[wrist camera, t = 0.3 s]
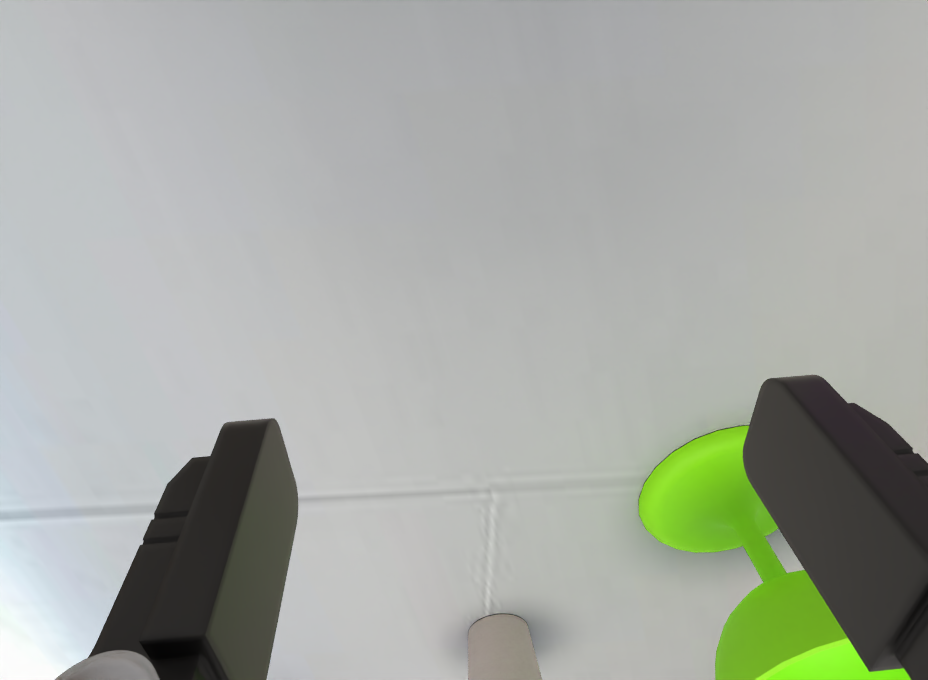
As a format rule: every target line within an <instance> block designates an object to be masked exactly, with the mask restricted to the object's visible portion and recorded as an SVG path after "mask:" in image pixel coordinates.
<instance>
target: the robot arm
mask: <svg viewBox="0 0 928 680" xmlns="http://www.w3.org/2000/svg"><path fill="white" fill-rule="evenodd" d="M912 449H913V448H912V447H911V446H910V445H909V444H908V443H907V442H906V441H905V440H904V439H903V438H902V437H901V436H900V435H899V434H898V433H897V432H896V431H895V430H894V429H893V428H892V427H891V426H890V425H889V424H888V423H886V422H885V421H883V420H881V419H880V418H878V417H877V416H875V415H873V414H872V413H870V412H868V411H867V410H865V409H863V408H862V407H860V406H858V405H857V404H855V403H847V402H846V401H845V400H844V399H843V398H842V397H841V396H840V395H839V394H838V393H837V392H836V391H835V390H834V389H833V387H832V386H831V385H830V384H829V383H828V382H827V381H826V380H825V379H823V378H822V377H820V376H818V375H805V376H793V377H781V378H770V379H767V380H766V381H765V382H764V383H763V384H762V386H761V389H760V392H759V395H758V398H757V402H756V405H755V408H754V412H753V415H752V418H751V422H750V425H749V428H748V432H747V435H746V439H745V442H744V446H743V463H744V468H745V472H746V475H747V477H748V480H749V482H750V483H751V485H752V487H753V488H754V490H755V492H756V493H757V495H758V496H759V498H760V499H761V501H762V503H763V504H764V506H765V507H766V509H767V511H768V512H769V514H770V515H771V517H772V518H773V520H774V522H775V523H776V525H777V526H778V528H779V530H780V531H781V533H782V534H783V536H784V537H785V539H786V541H787V542H788V544H789V545H790V547H791V549H792V550H793V552H794V553H795V555H796V557H797V558H798V560H799V561H800V563H801V564H802V566H803V568H804V569H805V571H806V572H807V574H808V576H809V577H810V579H811V580H812V582H813V583H814V585H815V587H816V588H817V590H818V591H819V593H820V595H821V596H822V598H823V599H824V601H825V602H826V604H827V606H828V607H829V609H830V610H831V612H832V614H833V615H834V617H835V618H836V620H837V622H838V623H839V625H840V626H841V628H842V629H843V631H844V633H845V634H846V636H847V637H848V639H849V641H850V642H851V644H852V645H853V647H854V648H855V650H856V652H857V653H858V655H859V656H860V658H861V660H862V661H863V663H864V664H865V666H866V667H867V669H868V671H869V672H874V671H883V670H893V669H903V668H904V669H905V671H906V672H907V674H908V675H909V677H910V678H911V680H928V463H927V462H926V461H925V460H924V459H923V458H922V457H921V456H920V455H919V454H918V453H917V454H914V453H913V451H912ZM154 515H155V518H154V520H151V522H150V524H149V526H148V529H147V531H146V533H145V535H144V538H143V540H144V542H143V545H140V547H139V549H138V551H137V553H136V556H135V558H134V560H133V562H132V564H131V567H130V569H129V571H128V573H127V576H126V578H125V580H124V582H123V585H122V587H121V589H120V591H119V593H118V596H117V598H116V600H115V602H114V605H113V607H112V609H111V611H110V614H109V616H108V618H107V620H106V623H105V625H104V627H103V629H102V631H101V634H100V636H99V638H98V640H97V643H96V645H95V646H94V648H93V650H92V652H91V654H90V655H89V657H88V658H87V659H85V660H83V661H81V662H79V663H77V664H76V665H74V666H72V667H71V668H69V669H68V670H66V671H65V672H64V673H62V674H61V675H60V676H58V677H57V678H56V679H55V680H266V678H267V673H268V668H269V663H270V658H271V653H272V648H273V643H274V637H275V632H276V627H277V622H278V617H279V612H280V607H281V601H282V596H283V591H284V586H285V581H286V576H287V571H288V565H289V560H290V555H291V550H292V545H293V540H294V535H295V530H296V524H297V518H298V493H297V486H296V482H295V478H294V475H293V472H292V468H291V465H290V461H289V458H288V454H287V451H286V447H285V444H284V441H283V437H282V434H281V430H280V427H279V425H278V422H277V421H276V420H275V419H273V418H271V419H259V420H247V421H235V422H227V423H225V424H224V425H223V427H222V428H221V431H220V433H219V436H218V438H217V441H216V443H215V446H214V449H213V451H212V454H211V456H208V457H196V458H192V459H191V460H190V461H189V462H188V463H187V464H186V465H185V466H184V467H183V468H182V469H181V470H180V471H179V472H178V473H177V475H176V476H175V477H174V478H173V479H172V480H171V481H170V482H169V483H168V484H167V486H166V489H165V491H164V493H163V495H162V497H161V500H160V502H159V504H158V506H157V509H156V511H155V513H154Z"/></svg>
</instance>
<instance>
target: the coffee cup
mask: <svg viewBox="0 0 928 680" xmlns="http://www.w3.org/2000/svg"><path fill="white" fill-rule="evenodd" d="M468 680H542V677H541V673H540V670H539V666H538V662H537V658H536V655H535V651H534V647H533V643H532V640H531V636H530V632H529V628H528V625H527V623H526V622H525V621H524V620H523V619H521V618H519V617H517V616H514V615H508V614H497V615H491V616H488V617H485V618H482V619H480V620H479V621H477V622H476V623H474V624H473V625H472V626H471V628H470V629H469V632H468Z"/></svg>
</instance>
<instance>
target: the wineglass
mask: <svg viewBox="0 0 928 680" xmlns="http://www.w3.org/2000/svg"><path fill="white" fill-rule="evenodd" d="M748 428H749V426H739V427H734V428H729V429H723V430H718V431H716V432H713V433H710V434H708V435H705V436H702V437H700V438H697V439H694V440H693V441H691V442H689V443H688V444H686V445H684V446H683V447H681V448H679V449H678V450H676V451H674V452H673V453H672V454H670V455H669V456H668V457H667V458H666V459H665V460H664V461H663V462H661V463H660V464H659V465H658V466H657V467H656V468H655V469H654V471H653V472H652V474H651V475H650V476H649V478H648V479H647V481H646V482H645V483H644V486H643V489H642V492H641V495H640V498H639V516H640V518H641V520H642V522H643V525H644V527H645V529H646V530H647V531H648V532H650V533H651V534H652V535H653V536H654V537H655V538H656V539H657V540H658V541H660V542H662V543H664V544H666V545H668V546H671V547H673V548H675V549H678V550H684V551H689V552H695V553H698V552H719V551H725V550H730V549H735V548H738V547H741V546H743V547H744V549H745V550H746V552H747V554H748V556H749V557H750V559H751V561H752V563H753V565H754V566H755V568H756V570H757V572H758V574H759V575H760V577H761V579H762V581H763V583H762V584H761V585H759V586H758V587H756V588H755V589H754V590H752V591H751V592H750V593H749V594H748V595H747V596H746V597H745V598H744V599H743V600H742V601H741V602H740V604H739V605H738V606H737V607H736V608H735V610H734V611H733V612H732V613H731V614H730V616H729V618H728V620H727V622H726V623H725V625H724V628H723V631H722V634H721V637H720V641H719V644H718V647H717V651H716V661H715V679H716V680H911V678H910V677H909V675H908V674H907V672H906V671H905V669H904V668H903V669H893V670H883V671H874V672H869V671H868V669H867V667H866V666H865V664H864V663H863V661H862V660H861V658H860V656H859V655H858V653H857V652H856V650H855V648H854V647H853V645H852V644H851V642H850V641H849V639H848V637H847V636H846V634H845V633H844V631H843V629H842V628H841V626H840V625H839V623H838V622H837V620H836V618H835V617H834V615H833V614H832V612H831V610H830V609H829V607H828V606H827V604H826V602H825V601H824V599H823V598H822V596H821V595H820V593H819V591H818V590H817V588H816V587H815V585H814V583H813V582H812V580H811V579H810V577H809V576H808V574H807V572H806V571H805V570H802V571H796V572H790V573H786V571H785V569H784V568H783V566H782V564H781V563H780V561H779V559H778V558H777V556H776V555H775V553H774V551H773V550H772V548H771V546H770V545H769V543H768V541H767V540H766V538H765V536H767V535H769V534H771V533H773V532H774V531H776V530H777V529H778V526H777V525H776V523H775V522H774V520H773V518H772V517H771V515H770V514H769V512H768V511H767V509H766V507H765V506H764V504H763V503H762V501H761V499H760V498H759V496H758V495H757V493H756V492H755V490H754V488H753V487H752V485H751V483H750V482H749V480H748V477H747V475H746V472H745V468H744V463H743V446H744V442H745V439H746V435H747V432H748Z"/></svg>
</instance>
